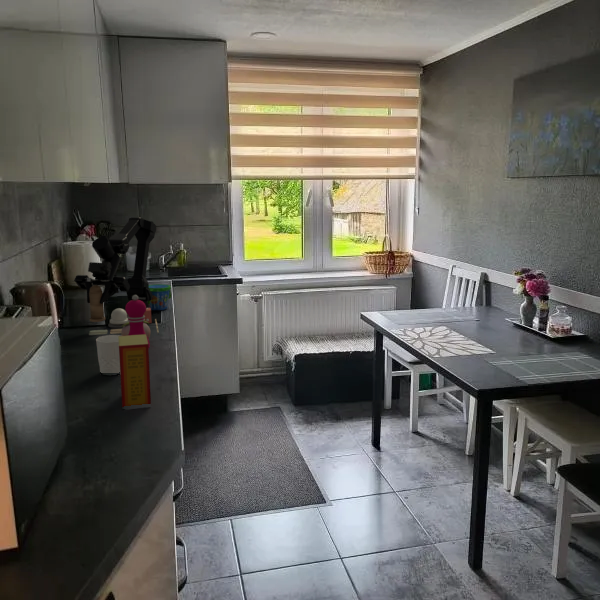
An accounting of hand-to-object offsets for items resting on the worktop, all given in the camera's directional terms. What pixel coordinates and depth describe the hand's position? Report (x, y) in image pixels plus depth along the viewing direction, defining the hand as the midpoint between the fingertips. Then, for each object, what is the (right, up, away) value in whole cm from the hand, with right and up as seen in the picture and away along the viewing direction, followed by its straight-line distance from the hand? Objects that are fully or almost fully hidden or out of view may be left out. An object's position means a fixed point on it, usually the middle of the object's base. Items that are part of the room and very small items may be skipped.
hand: (94, 302), depth 188 cm
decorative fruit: (+18, -15, -11) cm, 26 cm away
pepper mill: (+22, -17, -22) cm, 36 cm away
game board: (+6, -10, +12) cm, 17 cm away
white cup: (+19, -20, -35) cm, 44 cm away
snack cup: (+10, -3, +47) cm, 48 cm away
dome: (+4, -8, +14) cm, 16 cm away
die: (+12, -7, +19) cm, 24 cm away
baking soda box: (+31, -24, -55) cm, 68 cm away
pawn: (0, -6, +3) cm, 7 cm away
